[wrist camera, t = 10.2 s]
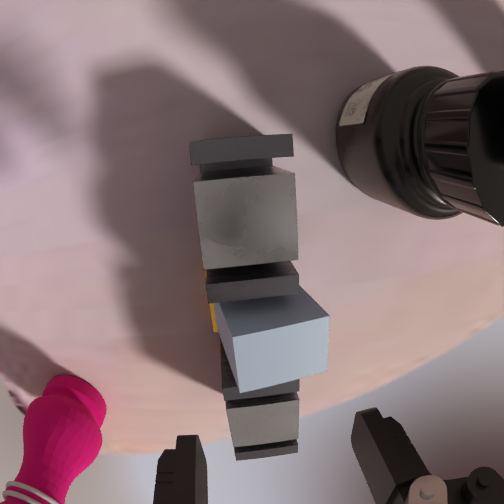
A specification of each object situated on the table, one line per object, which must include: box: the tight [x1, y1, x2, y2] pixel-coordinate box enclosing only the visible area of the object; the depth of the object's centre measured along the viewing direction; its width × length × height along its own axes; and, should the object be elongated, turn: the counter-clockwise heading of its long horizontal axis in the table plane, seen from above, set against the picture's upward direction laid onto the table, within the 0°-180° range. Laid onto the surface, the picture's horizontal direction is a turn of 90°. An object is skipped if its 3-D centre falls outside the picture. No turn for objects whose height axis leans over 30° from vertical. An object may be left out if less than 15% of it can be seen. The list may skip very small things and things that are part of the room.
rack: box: [189, 134, 299, 460], centre depth 20 cm, size 20×5×7 cm, turn 4°
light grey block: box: [213, 285, 330, 393], centre depth 19 cm, size 4×5×7 cm
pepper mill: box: [0, 375, 106, 504], centre depth 16 cm, size 7×7×20 cm
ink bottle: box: [336, 66, 504, 227], centre depth 15 cm, size 10×9×12 cm
